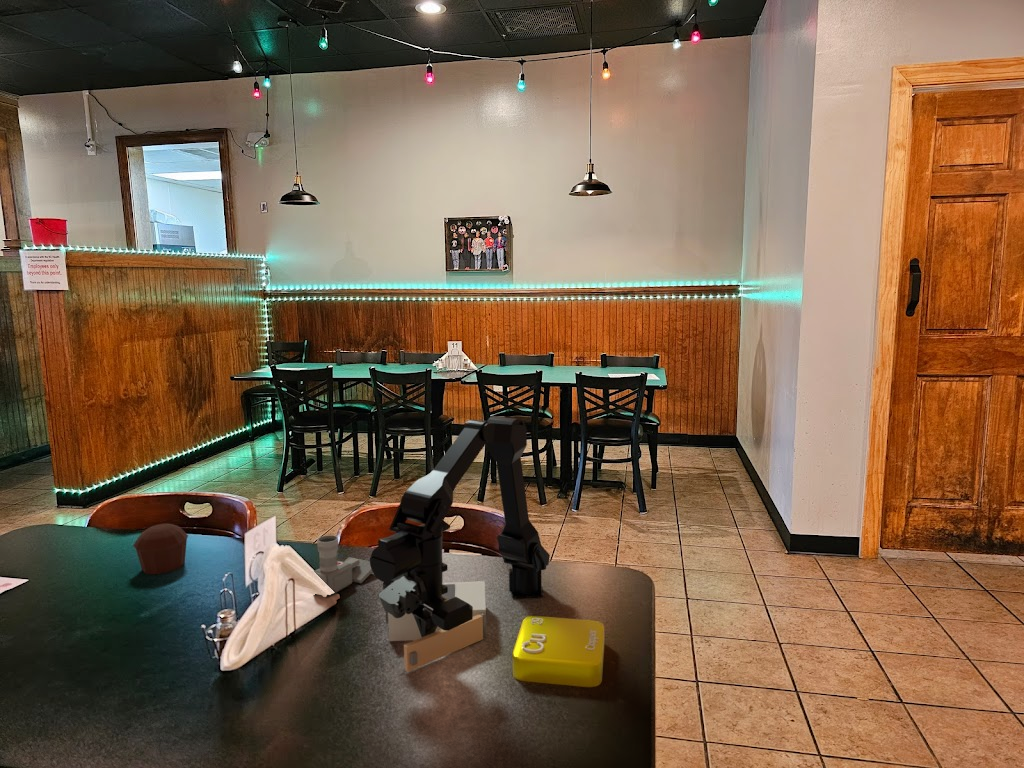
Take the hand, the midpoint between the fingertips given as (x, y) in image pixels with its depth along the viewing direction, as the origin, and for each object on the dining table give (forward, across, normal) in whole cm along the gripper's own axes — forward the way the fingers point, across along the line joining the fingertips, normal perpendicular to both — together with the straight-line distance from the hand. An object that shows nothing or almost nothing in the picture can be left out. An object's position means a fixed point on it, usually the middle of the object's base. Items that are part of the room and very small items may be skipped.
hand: (426, 643), depth 115 cm
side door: (+2, +3, +3) cm, 4 cm away
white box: (+3, -8, +9) cm, 12 cm away
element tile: (+3, +17, +16) cm, 24 cm away
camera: (+4, -38, +5) cm, 38 cm away
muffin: (+5, -76, -20) cm, 79 cm away
